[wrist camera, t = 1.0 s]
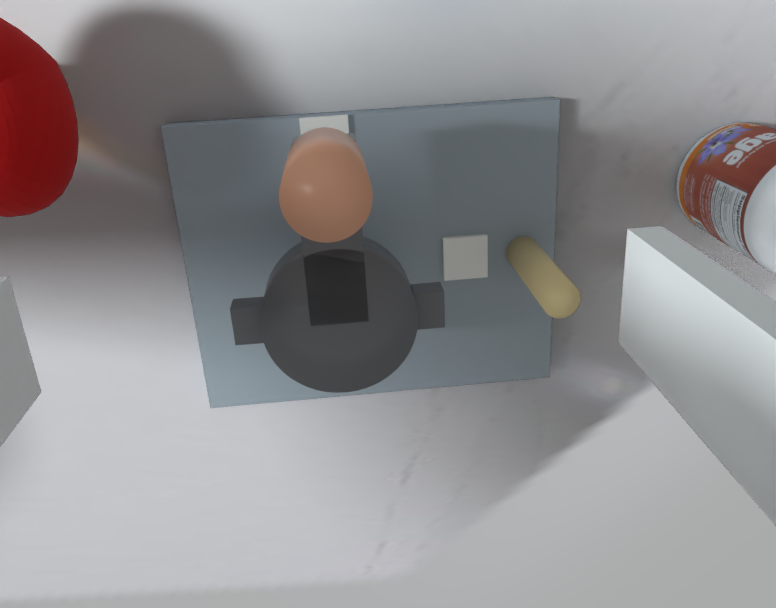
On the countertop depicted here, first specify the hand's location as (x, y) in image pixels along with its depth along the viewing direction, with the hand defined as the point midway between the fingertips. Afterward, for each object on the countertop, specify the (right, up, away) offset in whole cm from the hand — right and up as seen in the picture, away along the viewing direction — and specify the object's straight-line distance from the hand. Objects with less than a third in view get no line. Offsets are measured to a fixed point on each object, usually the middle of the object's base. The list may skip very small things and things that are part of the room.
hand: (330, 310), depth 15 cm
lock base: (0, +3, +24) cm, 25 cm away
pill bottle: (+20, +7, +25) cm, 33 cm away
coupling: (-1, +3, +17) cm, 18 cm away
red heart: (-16, +11, +20) cm, 28 cm away
